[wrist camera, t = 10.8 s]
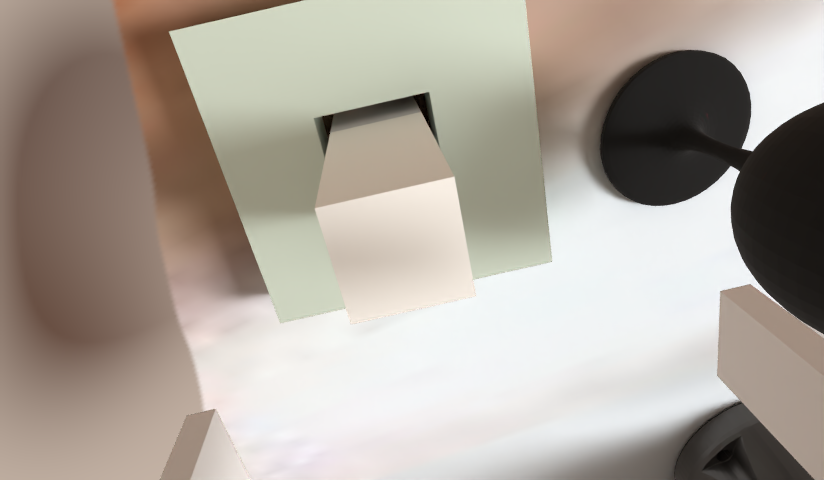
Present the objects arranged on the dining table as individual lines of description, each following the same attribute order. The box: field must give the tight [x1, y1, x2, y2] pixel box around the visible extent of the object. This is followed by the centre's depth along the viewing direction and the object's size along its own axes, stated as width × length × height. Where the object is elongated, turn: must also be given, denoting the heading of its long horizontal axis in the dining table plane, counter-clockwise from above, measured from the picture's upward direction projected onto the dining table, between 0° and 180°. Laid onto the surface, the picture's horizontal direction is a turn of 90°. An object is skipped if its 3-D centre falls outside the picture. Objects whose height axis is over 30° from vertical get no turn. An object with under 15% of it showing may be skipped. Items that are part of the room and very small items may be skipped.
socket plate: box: [169, 0, 552, 323], centre depth 32 cm, size 18×18×4 cm
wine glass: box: [600, 50, 824, 334], centre depth 26 cm, size 10×10×20 cm
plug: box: [315, 96, 476, 324], centre depth 27 cm, size 5×5×16 cm
